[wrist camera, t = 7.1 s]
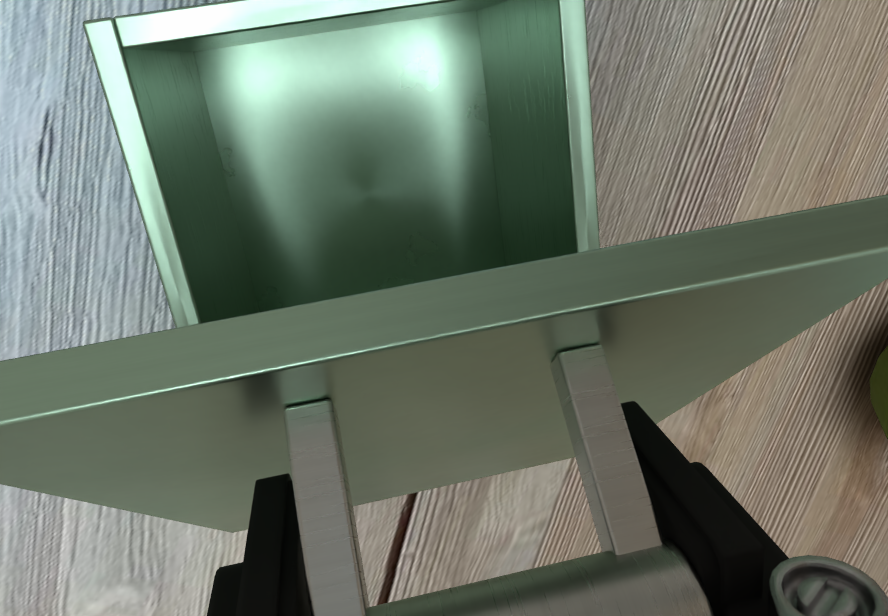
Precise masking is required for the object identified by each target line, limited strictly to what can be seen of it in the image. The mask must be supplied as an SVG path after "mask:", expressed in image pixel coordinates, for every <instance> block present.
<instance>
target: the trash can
mask: <svg viewBox="0 0 888 616" xmlns="http://www.w3.org/2000/svg"><path fill="white" fill-rule="evenodd" d="M83 27H84V30H85V34H86V37H87V40H88V43H89V47H90V50H91V53H92V56H93V60H94V63H95V66H96V69H97V73H98V76H99V79H100V83H101V86H102V89H103V92H104V96H105V99H106V102H107V105H108V109H109V112H110V115H111V118H112V122H113V125H114V128H115V132H116V135H117V138H118V141H119V145H120V148H121V151H122V154H123V158H124V161H125V164H126V167H127V171H128V174H129V177H130V181H131V184H132V187H133V190H134V194H135V197H136V200H137V203H138V207H139V210H140V213H141V217H142V220H143V223H144V226H145V230H146V233H147V236H148V239H149V243H150V246H151V249H152V252H153V256H154V259H155V262H156V266H157V269H158V272H159V275H160V279H161V282H162V285H163V288H164V292H165V295H166V298H167V301H168V305H169V308H170V311H171V315H172V318H173V321H174V324H175V328H180V327H185V326H190V325H196V324H201V323H206V322H211V321H217V320H222V319H227V318H233V317H238V316H243V315H249V314H254V313H259V312H265V311H270V310H275V309H281V308H286V307H291V306H297V305H302V304H307V303H313V302H318V301H323V300H329V299H334V298H339V297H345V296H350V295H355V294H361V293H366V292H371V291H376V290H382V289H387V288H392V287H398V286H403V285H408V284H414V283H419V282H424V281H430V280H435V279H440V278H446V277H451V276H456V275H462V274H467V273H472V272H478V271H483V270H488V269H494V268H499V267H504V266H510V265H515V264H520V263H525V262H531V261H536V260H541V259H547V258H552V257H557V256H563V255H568V254H573V253H579V252H584V251H589V250H595V249H600V241H599V225H598V208H597V191H596V175H595V158H594V142H593V125H592V109H591V92H590V76H589V59H588V42H587V26H586V9H585V0H229V1H222V2H214V3H207V4H200V5H193V6H186V7H179V8H172V9H165V10H157V11H150V12H143V13H136V14H129V15H122V16H116V17H114V18H111V17H108V18H101V19H94V20H87V21H84V22H83Z"/></svg>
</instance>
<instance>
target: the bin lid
mask: <svg viewBox="0 0 888 616" xmlns="http://www.w3.org/2000/svg"><path fill="white" fill-rule="evenodd" d="M887 278H888V194H887V195H882V196H877V197H871V198H866V199H861V200H855V201H850V202H845V203H839V204H834V205H829V206H823V207H818V208H813V209H808V210H802V211H797V212H792V213H786V214H781V215H776V216H770V217H765V218H760V219H754V220H749V221H744V222H738V223H733V224H728V225H722V226H717V227H712V228H706V229H701V230H696V231H690V232H685V233H680V234H674V235H669V236H664V237H659V238H653V239H648V240H643V241H637V242H632V243H627V244H621V245H616V246H611V247H605V248H600V249H595V250H589V251H584V252H579V253H573V254H568V255H563V256H557V257H552V258H547V259H541V260H536V261H531V262H525V263H520V264H515V265H510V266H504V267H499V268H494V269H488V270H483V271H478V272H472V273H467V274H462V275H456V276H451V277H446V278H440V279H435V280H430V281H424V282H419V283H414V284H408V285H403V286H398V287H392V288H387V289H382V290H376V291H371V292H366V293H361V294H355V295H350V296H345V297H339V298H334V299H329V300H323V301H318V302H313V303H307V304H302V305H297V306H291V307H286V308H281V309H275V310H270V311H265V312H259V313H254V314H249V315H243V316H238V317H233V318H227V319H222V320H217V321H211V322H206V323H201V324H196V325H190V326H185V327H180V328H174V329H169V330H164V331H158V332H153V333H148V334H142V335H137V336H132V337H126V338H121V339H116V340H110V341H105V342H100V343H94V344H89V345H84V346H78V347H73V348H68V349H62V350H57V351H52V352H47V353H41V354H36V355H31V356H25V357H20V358H15V359H9V360H4V361H0V484H2V485H7V486H12V487H16V488H21V489H26V490H31V491H36V492H40V493H45V494H50V495H55V496H59V497H64V498H69V499H74V500H79V501H83V502H88V503H93V504H98V505H102V506H107V507H112V508H117V509H122V510H126V511H131V512H136V513H141V514H146V515H150V516H155V517H160V518H165V519H169V520H174V521H179V522H184V523H189V524H193V525H198V526H203V527H208V528H212V529H217V530H222V531H227V532H232V533H234V532H238V531H243V530H247V529H248V528H249V521H250V514H251V508H252V501H253V494H254V487H255V482H256V480H258V479H263V478H267V477H272V476H277V475H282V474H286V473H289V474H290V476H291V479H292V483H293V490H294V497H295V504H296V512H297V519H298V526H299V533H300V541H301V548H302V555H303V563H304V570H305V577H306V584H307V592H308V599H309V606H310V613H311V616H714V613H713V610H712V607H711V604H710V601H709V599H708V596H707V594H706V591H705V589H704V587H703V585H702V582H701V580H700V578H699V576H698V574H697V573H696V571H695V569H694V567H693V565H692V564H691V562H690V561H689V559H688V558H687V556H686V555H685V553H684V552H683V551H682V550H681V549H680V547H679V546H678V545H676V544H675V543H674V542H673V541H671V540H668V539H663V538H662V535H661V532H660V528H659V525H658V522H657V519H656V516H655V512H654V509H653V506H652V503H651V500H650V496H649V493H648V490H647V487H646V484H645V480H644V477H643V474H642V471H641V468H640V464H639V461H638V458H637V455H636V452H635V448H634V445H633V442H632V439H631V436H630V432H629V429H628V426H627V423H626V420H625V416H624V413H623V410H622V407H621V404H620V403H625V402H629V401H635V402H637V403H638V404H639V405H640V407H641V408H642V409H643V410H644V411H645V412H646V413H647V415H648V416H649V417H650V418H651V419H652V420H653V421H654V423H655V424H657V423H658V422H660V421H662V420H663V419H665V418H666V417H668V416H670V415H671V414H673V413H674V412H676V411H678V410H679V409H681V408H682V407H684V406H686V405H687V404H689V403H690V402H692V401H693V400H695V399H697V398H698V397H700V396H701V395H703V394H705V393H706V392H708V391H709V390H711V389H713V388H714V387H716V386H717V385H719V384H720V383H722V382H724V381H725V380H727V379H728V378H730V377H732V376H733V375H735V374H736V373H738V372H740V371H741V370H743V369H744V368H746V367H747V366H749V365H751V364H752V363H754V362H755V361H757V360H759V359H760V358H762V357H763V356H765V355H767V354H768V353H770V352H771V351H773V350H775V349H776V348H778V347H779V346H781V345H782V344H784V343H786V342H787V341H789V340H790V339H792V338H794V337H795V336H797V335H798V334H800V333H802V332H803V331H805V330H806V329H808V328H809V327H811V326H813V325H814V324H816V323H817V322H819V321H821V320H822V319H824V318H825V317H827V316H829V315H830V314H832V313H833V312H835V311H836V310H838V309H840V308H841V307H843V306H844V305H846V304H848V303H849V302H851V301H852V300H854V299H856V298H857V297H859V296H860V295H862V294H863V293H865V292H867V291H868V290H870V289H871V288H873V287H875V286H876V285H878V284H879V283H881V282H883V281H884V280H886V279H887ZM574 457H576V460H577V464H578V468H579V471H580V475H581V478H582V482H583V485H584V489H585V492H586V496H587V499H588V503H589V507H590V510H591V514H592V517H593V521H594V524H595V528H596V531H597V535H598V539H599V542H600V546H601V549H602V552H601V553H597V554H593V555H588V556H584V557H580V558H576V559H571V560H567V561H563V562H559V563H555V564H550V565H546V566H542V567H538V568H533V569H529V570H525V571H521V572H517V573H512V574H508V575H504V576H500V577H495V578H491V579H487V580H483V581H478V582H474V583H470V584H466V585H462V586H457V587H453V588H449V589H445V590H440V591H436V592H432V593H428V594H423V595H419V596H415V597H411V598H407V599H402V600H398V601H394V602H390V603H385V604H381V605H377V606H373V607H369V601H368V595H367V589H366V583H365V577H364V571H363V565H362V559H361V553H360V547H359V541H358V535H357V529H356V523H355V517H354V511H353V506H356V505H361V504H365V503H370V502H374V501H379V500H383V499H388V498H392V497H397V496H401V495H406V494H411V493H415V492H420V491H424V490H429V489H433V488H438V487H442V486H447V485H451V484H456V483H460V482H465V481H470V480H474V479H479V478H483V477H488V476H492V475H497V474H501V473H506V472H510V471H515V470H519V469H524V468H529V467H533V466H538V465H542V464H547V463H551V462H556V461H560V460H565V459H569V458H574Z"/></svg>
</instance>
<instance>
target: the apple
mask: <svg viewBox="0 0 888 616" xmlns="http://www.w3.org/2000/svg"><path fill="white" fill-rule="evenodd" d="M870 395H871V403H872V405H873V408H874V410H875V412H876V415H877V417H878V419H879V421H880V424H881V426H882V428H883V431H884V433H885V435H886V437H887V439H888V346H887V347H886V348H885V350H884V351H883V352H882V353H881V355H880V356H879V357H878V360H877V362H876V365H875V367H874V370H873V372H872V375H871V378H870Z"/></svg>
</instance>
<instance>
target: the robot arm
mask: <svg viewBox="0 0 888 616" xmlns="http://www.w3.org/2000/svg"><path fill="white" fill-rule="evenodd" d="M620 404H621V407H622V410H623V413H624V416H625V420H626V423H627V426H628V429H629V432H630V436H631V439H632V442H633V445H634V448H635V452H636V455H637V458H638V461H639V464H640V468H641V471H642V474H643V477H644V480H645V484H646V487H647V490H648V493H649V496H650V500H651V503H652V506H653V509H654V512H655V516H656V519H657V522H658V525H659V528H660V532H661V535H662V538H663V539H668V540H671V541H673V542H674V543H675V544H676V545H678V546H679V547H680V549H681V550H682V551H683V552H684V553H685V555H686V556H687V558H688V559H689V561H690V562H691V564H692V565H693V567H694V569H695V571H696V573H697V574H698V576H699V578H700V580H701V582H702V585H703V587H704V589H705V591H706V594H707V596H708V599H709V601H710V604H711V607H712V610H713V613H714V616H888V598H887V596H886V594H885V593H884V591H883V590H882V589H881V588H880V586H879V585H878V584H877V583H876V582H875V580H873V579H872V578H871V577H869V576H868V575H867V574H865V573H864V572H863V571H861V570H860V569H858V568H856V567H853V566H851V565H849V564H847V563H845V562H843V561H839V560H836V559H832V558H828V557H822V556H811V555H807V556H799V557H793V558H790V559H789V558H788V557H787V556H786V555H785V553H784V552H783V551H782V550H781V549H780V548H779V547H778V546H777V545H776V543H775V542H774V541H773V540H772V539H771V538H770V537H769V536H768V535H767V534H766V532H765V531H764V530H763V529H762V528H761V527H760V526H759V525H758V524H757V523H756V521H755V520H754V519H753V518H752V517H751V516H750V515H749V514H748V513H747V512H746V510H745V509H744V508H743V507H742V506H741V505H740V504H739V503H738V502H737V501H736V499H735V498H734V497H733V496H732V495H731V494H730V493H729V492H728V491H727V489H726V488H725V487H724V486H723V485H722V484H721V483H720V482H719V481H718V480H717V478H716V477H715V476H714V475H713V474H712V473H711V472H710V471H709V470H708V469H707V468H706V467H705V466H704V465H703V464H702V463H699V462H693V463H690V462H689V461H688V460H687V459H686V458H685V457H684V456H683V454H682V453H681V452H680V451H679V450H678V449H677V448H676V446H675V445H674V444H673V443H672V442H671V441H670V440H669V439H668V437H667V436H666V435H665V434H664V433H663V432H662V431H661V429H660V428H659V427H658V426H657V425H656V424H655V423H654V421H653V420H652V419H651V418H650V417H649V416H648V415H647V413H646V412H645V411H644V410H643V409H642V408H641V407H640V405H639V404H638V403H637V402H635V401H629V402H625V403H620ZM207 616H311V613H310V606H309V599H308V592H307V584H306V577H305V570H304V563H303V555H302V548H301V541H300V533H299V526H298V519H297V512H296V504H295V497H294V490H293V483H292V479H291V476H290V474H289V473H286V474H282V475H277V476H272V477H267V478H263V479H258V480H256V482H255V487H254V494H253V501H252V508H251V514H250V521H249V528H248V534H247V541H246V548H245V554H244V561H243V562H242V563H238V564H233V565H229V566H224V567H220V568H219V569H218V570H217V571H216V575H215V578H214V583H213V588H212V593H211V598H210V603H209V608H208V613H207Z"/></svg>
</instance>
